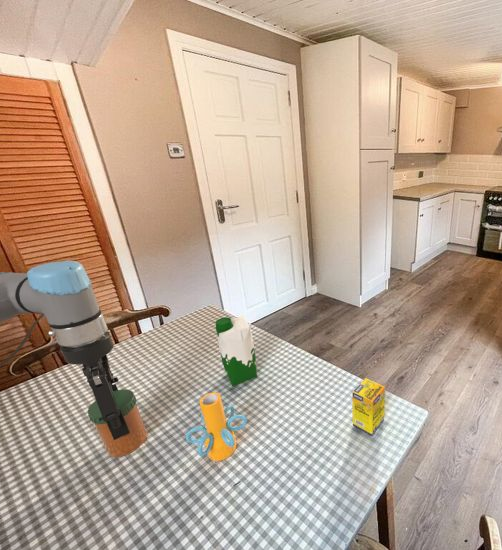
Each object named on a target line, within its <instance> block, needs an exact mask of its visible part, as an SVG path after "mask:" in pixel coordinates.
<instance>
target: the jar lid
mask: <svg viewBox="0 0 502 550" xmlns="http://www.w3.org/2000/svg"><path fill="white" fill-rule="evenodd" d="M113 393H114V396H115V399H116V402H117V405H118V408H120V409H121V412H122V414H123V416H125V415H126V414H128V413H129V412H130V411H131V410H132V409H133V408H134V406H135V405H137V397H136V395H135V393H134V392H133V391H132V390H131V389H127V388H125V389H124V388H123V389H118V390H116V391H113ZM87 414H88V419H89V420H90V421H91V423H93V424H94V423H95V424H107V423H106V422H104V421H103V420H101V421H100V420H99V418H100V417H102V415H101V412H100V409H99V407H98V404H97V402H96V400H95V401H93V402H92V403H91V404H90V405H89V406H88V409H87Z"/></svg>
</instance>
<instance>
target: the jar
mask: <svg viewBox="0 0 502 550" xmlns="http://www.w3.org/2000/svg"><path fill="white" fill-rule="evenodd" d="M123 417H124V419H125V422H126V424H127V426H128V429H129V432H130V433H129V434H127V435H124V436H122V437H120V438H118V439H116V440H114V439H113V437H112V434H111V432H110V430H109V428H108V425H107V424H95V423H93V425H94V427H95V429H96V432H97V434H98V435H99V438H100V440H101V442H102V444H103V446H104V449H105V451H106V454H107V455H108V456H109V457H111V458H120V457H124V456H127V455H129V454H132V453H134V452H135V451H137V449H139V448H140V447H141V446H143V444H144V443H145V441H146V439H147V437H148V431H147V430H146V426H145V424H144V421H143V418H142V416H141V413H140V410H139V407H138V404H136V405H135V406H134V408H133V409H132V410H131V411H130V412H129V413H128V414H126V415H125V416H123Z"/></svg>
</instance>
